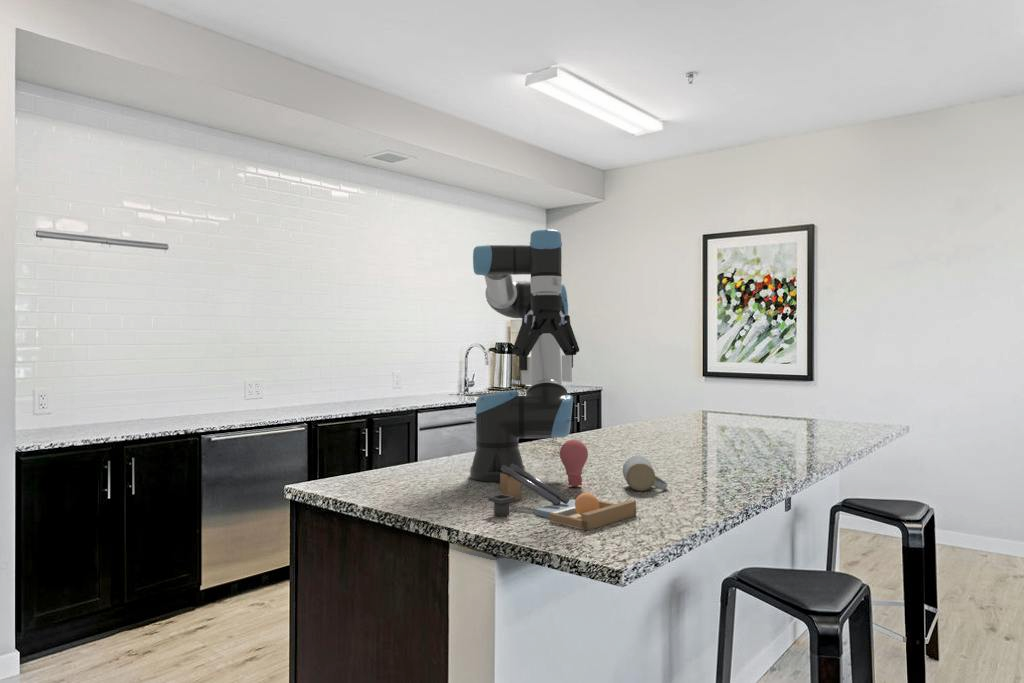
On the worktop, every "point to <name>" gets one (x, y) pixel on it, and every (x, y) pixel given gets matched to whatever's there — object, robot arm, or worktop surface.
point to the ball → (586, 503)
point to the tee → (501, 504)
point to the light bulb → (574, 460)
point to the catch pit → (597, 515)
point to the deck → (557, 509)
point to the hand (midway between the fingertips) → (547, 383)
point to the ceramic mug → (641, 474)
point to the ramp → (527, 485)
